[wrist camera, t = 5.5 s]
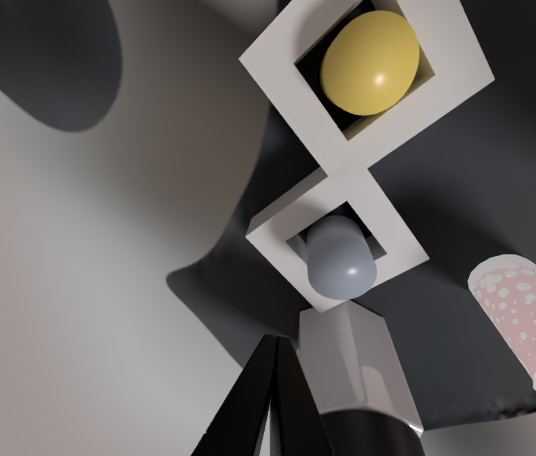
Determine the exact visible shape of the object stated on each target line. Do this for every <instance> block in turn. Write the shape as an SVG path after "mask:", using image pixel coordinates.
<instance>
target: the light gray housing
mask: <svg viewBox="0 0 536 456" xmlns="http://www.w3.org/2000/svg"><path fill="white" fill-rule="evenodd" d="M345 167H346V168H345ZM339 169H340V170H339ZM339 169H338V170H337V171H335V172H334V173H335V174H336V175H335V174H334V173H332V174H331V175H330V176H328V175H327V174H326V173H325V171H324V170H323V169H322V167H321V166H320V167H319V168H318V169H316V170H315V171H314V172H312V173H311V174H310V175H308V176H307V177H306V178H305V179H303V180H302V181H301V182H299V183H298V184H297V185H295V186H294V187H293V188H291V189H290V190H289V191H287V192H286V193H285V194H283V195H282V196H281V197H279V198H278V199H277V200H275V201H274V202H273V203H271V204H270V205H269V206H267V207H266V208H265V209H263V210H262V211H261V212H259V213H258V214H257V215H255V216H254V217H253V218H252V219H251V222H250V225H249V227H248V230H247V233H246V236H245V237H246V238H247V239H248V240H249V241H250V242H251V243H252V244H253V245H254V246H255V247H256V248H257V249H258V250H259V251H260V252H261V254H262V255H263V256H264V257H265V258H266V259H267V260H268V261H269V262H270V263H271V264H272V265H273V266H274V267H275V268H276V269H277V270H278V271H279V272H280V273H281V274H282V275H283V276H284V277H285V278H286V279H287V280H288V281H289V282H290V283H291V284H292V285H293V286H294V287H295V288H296V289H297V290H298V291H299V292H300V293H301V294H302V295H303V296H304V298H305V299H306V300H307V301H308V302H309V303H310V304H311V305H312V306H313V307H314V308H315V309H316V310H317V311H318V312H319V313H322V312H324V311H326V310H328V309H330V308H332V307H334V306H336V305H338V304H340V303H342V302H344V301H346V300H334V299H329V298H326V297H324V296H322V295H320V294H318V293H317V292H316V291H315V290H314V289H313V288H312V287H311V285H310V283H309V280H308V270H307V245H306V243H305V242H304V241H303V240H302V239H301V238H300V236H299V235H298V234H297V233H299V232H300V231H302V230H303V229H305V228H306V227H308V226H309V225H311V224H312V223H314V222H315V221H317V220H318V219H320V218H321V217H323V216H324V215H326V214H327V213H329V212H330V211H332V210H333V209H335V208H336V207H338V206H339V205H341V204H342V203H344V202H345V201H348V203H349V204H350V205H351V207H352V208H353V209H354V211H355V212H356V213H357V214H358V216H359V217H360V218H361V220H362V221H363V222H364V224H365V225H366V226H367V228H368V229H369V230H370V231H371V233H372V234H373V235H371V236H370V237H368V238H366V239H365V240H366V243H367V245H368V247H369V250H370V252H371V255H372V257H373V259H374V262H375V264H376V267H377V277H376V280H375V282H374V284H373V285H372V287H374V286H377V285H379V284H381V283H383V282H385V281H387V280H389V279H391V278H393V277H395V276H397V275H399V274H401V273H403V272H405V271H407V270H409V269H411V268H413V267H415V266H417V265H419V264H421V263H423V262H425V261H427V260H429V259H430V258H429V257H428V255H427V254H426V253H425V251H424V250H423V248H422V247H421V245H420V244H419V242H418V241H417V240H416V238H415V237H414V235H413V234H412V232H411V231H410V230H409V228H408V227H407V225H406V224H405V222H404V221H403V220H402V218H401V217H400V215H399V214H398V212H397V211H396V210H395V208H394V207H393V205H392V204H391V202H390V201H389V200H388V198H387V197H386V195H385V194H384V192H383V191H382V190H381V188H380V187H379V185H378V184H377V182H376V181H375V180H374V178H373V177H372V175H371V174H370V172H369V171H368V170H367V168H366V167H365V165H364V164H363V162H362V161H361V160H360V158H359V157H358V155H357V156H356V157H355V158H353V160H350V161H349V162H348V163H346V164H345V165H343V167H341V168H339ZM362 169H363V170H362ZM342 170H343V171H342ZM356 170H357V171H356ZM336 172H338V173H336ZM339 173H340V174H339ZM337 176H338V177H337ZM336 177H337V178H336ZM353 177H354V178H353ZM338 179H339V180H338ZM342 184H343V185H342ZM372 287H371V288H372Z"/></svg>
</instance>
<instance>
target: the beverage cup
mask: <svg viewBox="0 0 536 456" xmlns="http://www.w3.org/2000/svg"><path fill="white" fill-rule="evenodd" d="M468 286H469V290H470V291H471V292H472V294H473V295H474V297H475V298H476V300H477V301H478V302H479V304H480V305H481V307H482V308H483V309H484V311H485V312H486V314H487V315H488V317H489V318H490V319H491V321H492V322H493V324H494V325H495V326H496V328H497V329H498V331H499V332H500V334H501V335H502V336H503V338H504V339H505V341H506V342H507V343H508V345H509V346H510V348H511V349H512V351H513V352H514V353H515V355H516V356H517V358H518V359H519V360H520V362H521V363H522V365H523V366H524V368H525V369H526V370H527V372H528V373H529V375H530V376H531V377H532V379H533V388H534V389H535V390H536V265H535V264H534V263H532V262H531V261H529V260H528V259H526V258H524V257H521V256H518V255H506V254H503V255H499V256H496V257H492V258H489V259H487V260H486V261H484V262H482V263H480V264H479V265H478V266H477V267H476V268H475V269H474V270H473V271H472V272H471V274H470V276H469V279H468Z"/></svg>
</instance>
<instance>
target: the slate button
mask: <svg viewBox="0 0 536 456" xmlns="http://www.w3.org/2000/svg"><path fill="white" fill-rule="evenodd" d="M306 245H307V270H308V280H309V283H310V285H311V287H312V288H313V289H314V290H315V291H316V292H317V293H318V294H320V295H322V296H324V297H326V298H329V299H334V300H348V299H353V298H356V297H358V296H360V295H362V294H364V293H365V292H367V291H368V290H369V289H370V288H371V287H372V285H373V284H374V282H375V280H376V277H377V267H376V264H375V262H374V259H373V257H372V255H371V252H370V250H369V247H368V245H367V243H366V240H365V238H364V236H363V233H362V231H361V229H360V227H359V225H358V224H357V223H356V222H355V221H353V220H352V219H350V218H348V217H345V216H339V215H333V216H327V217H324V218H322V219H320V220H318V221H317V222H315V223H314V224H313V225H312V226H311V228H310V229H309V231H308V233H307V238H306Z"/></svg>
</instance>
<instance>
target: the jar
mask: <svg viewBox="0 0 536 456" xmlns="http://www.w3.org/2000/svg"><path fill="white" fill-rule="evenodd" d="M297 356H298V359H299V361H300V364H301V367H302V369H303V372H304V375H305V377H306V380H307V382H308V385H309V388H310V390H311V393H312V396H313V398H314V401H315V403H316V406H317V409H318V411H319V414H320V417H321V419H322V422H323V424H324V427H325V430H326V432H327V435H328V438H329V440H330V443H331V445H332V448H333V451H334V452H333V454H335V456H425V453H424V450H423V448H422V445H421V442H420V439H419V438H420V436H421V434H422V433H423V426H422V423H421V421H420V418H419V415H418V412H417V410H416V407H415V404H414V401H413V398H412V396H411V393H410V390H409V387H408V384H407V382H406V379H405V376H404V373H403V370H402V368H401V365H400V362H399V359H398V356H397V354H396V351H395V348H394V345H393V343H392V340H391V337H390V334H389V331H388V329H387V326H386V323H385V320H384V318H382V317H380V316H379V315H377V314H375V313H373V312H371V311H369V310H367V309H366V308H364V307H362V306H360V305H358V304H356V303H354V302H353V301H351V300H349V299H348V300H346V301H344V302H342V303H340V304H338V305H336V306H334V307H332V308H330V309H328V310H326V311H324V312H322V313H319V312H318V311H317V310H316V309H315V308H314V307H313V308H310V309H307V310H304V311H301V312H300V317H299V330H298V343H297Z"/></svg>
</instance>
